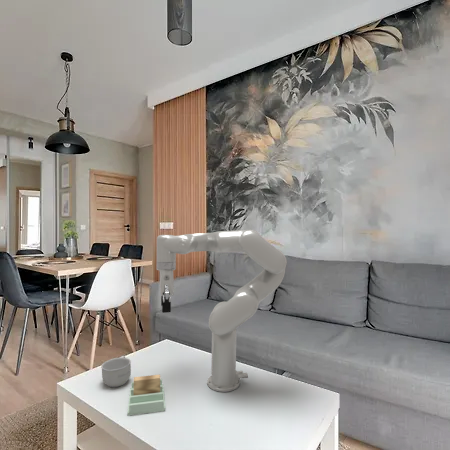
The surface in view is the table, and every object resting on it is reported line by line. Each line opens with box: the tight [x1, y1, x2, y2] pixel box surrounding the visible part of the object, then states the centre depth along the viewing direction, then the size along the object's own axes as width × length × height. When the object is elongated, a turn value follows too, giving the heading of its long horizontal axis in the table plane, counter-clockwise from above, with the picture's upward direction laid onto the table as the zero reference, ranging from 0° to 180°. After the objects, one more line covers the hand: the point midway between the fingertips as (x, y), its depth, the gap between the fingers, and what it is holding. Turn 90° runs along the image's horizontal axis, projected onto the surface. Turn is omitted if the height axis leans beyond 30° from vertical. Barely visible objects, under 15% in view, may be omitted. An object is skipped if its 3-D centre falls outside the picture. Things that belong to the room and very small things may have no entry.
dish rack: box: [127, 378, 166, 417], centre depth 109 cm, size 12×16×3 cm
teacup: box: [100, 355, 132, 388], centre depth 122 cm, size 14×11×8 cm
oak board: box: [133, 374, 161, 395], centre depth 109 cm, size 9×3×7 cm, turn 104°
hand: (165, 308), depth 123 cm, fingers open, 9 cm apart
